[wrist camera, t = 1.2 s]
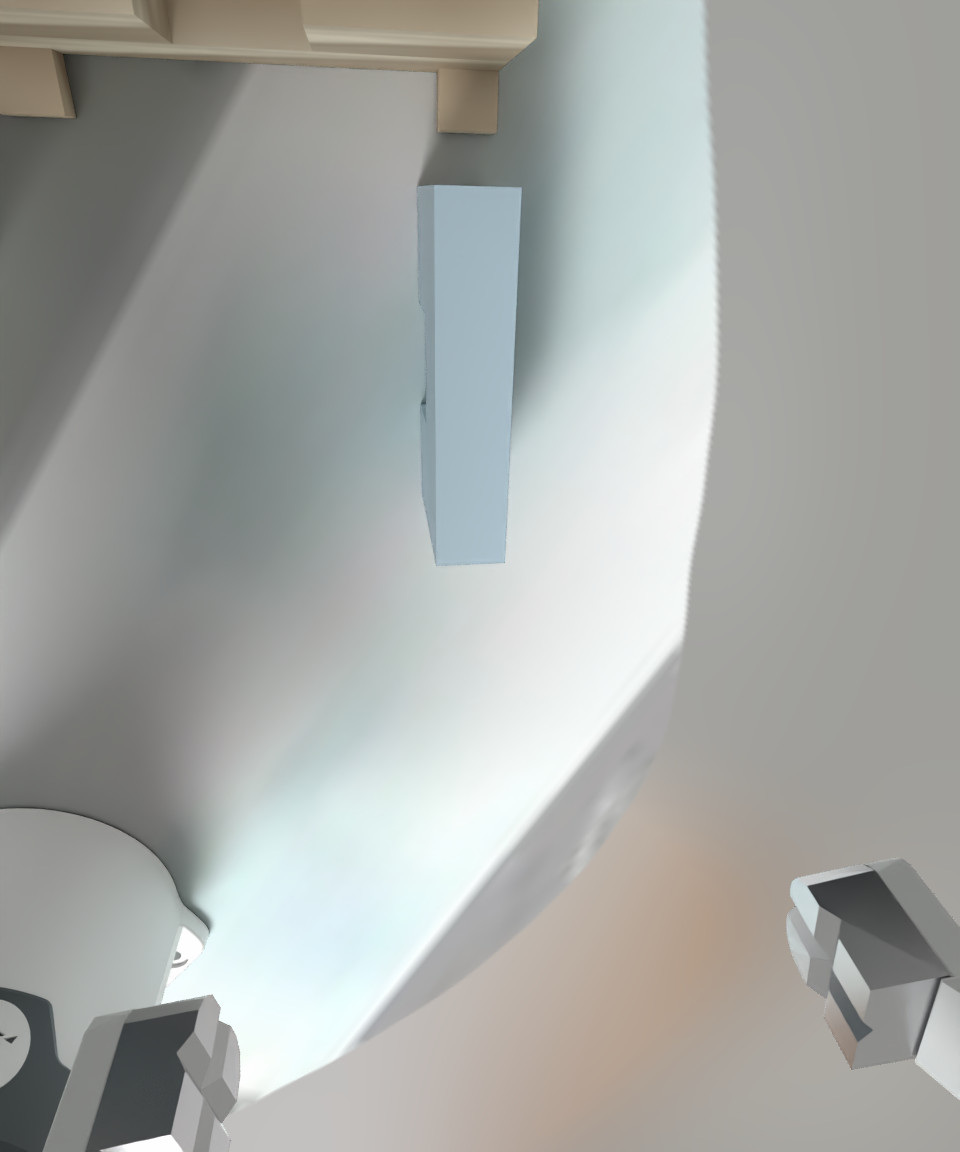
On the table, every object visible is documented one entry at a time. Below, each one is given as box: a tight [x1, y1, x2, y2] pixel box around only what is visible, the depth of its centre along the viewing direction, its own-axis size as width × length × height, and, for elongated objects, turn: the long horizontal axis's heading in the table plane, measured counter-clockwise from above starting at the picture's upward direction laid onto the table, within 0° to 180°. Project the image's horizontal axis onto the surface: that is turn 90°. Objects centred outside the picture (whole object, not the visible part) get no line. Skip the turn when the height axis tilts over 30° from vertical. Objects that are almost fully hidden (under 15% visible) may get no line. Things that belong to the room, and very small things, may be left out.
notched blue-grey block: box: [417, 185, 522, 566], centre depth 26 cm, size 12×2×7 cm, turn 179°
